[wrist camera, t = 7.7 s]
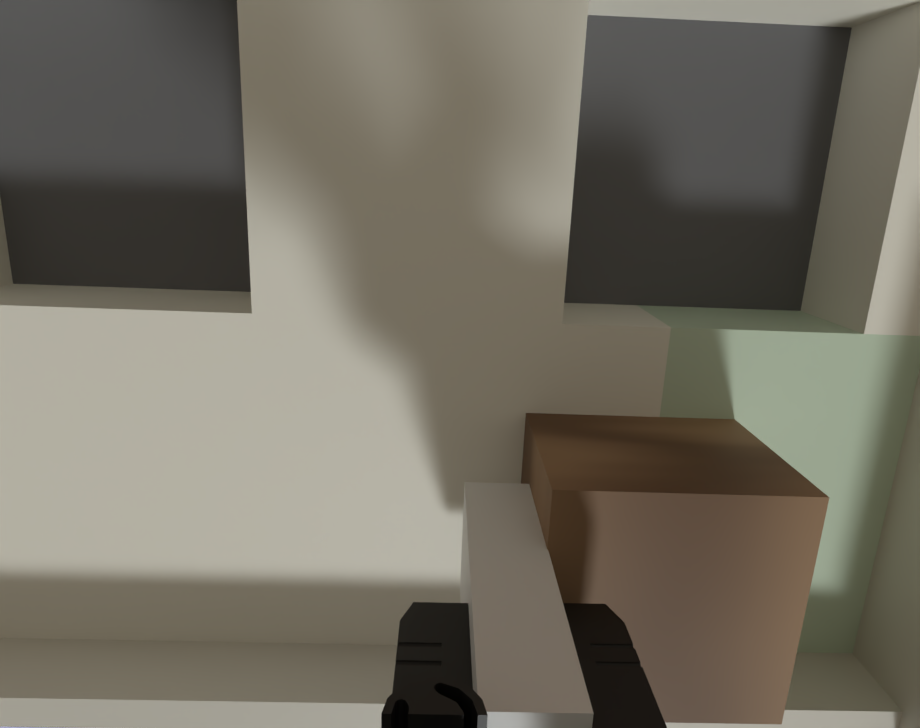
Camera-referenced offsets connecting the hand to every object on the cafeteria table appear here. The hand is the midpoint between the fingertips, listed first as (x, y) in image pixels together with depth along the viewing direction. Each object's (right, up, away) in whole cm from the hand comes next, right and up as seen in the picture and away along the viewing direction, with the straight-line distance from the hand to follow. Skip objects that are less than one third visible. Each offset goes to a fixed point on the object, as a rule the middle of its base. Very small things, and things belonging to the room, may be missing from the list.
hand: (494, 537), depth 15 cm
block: (+3, 0, +1) cm, 3 cm away
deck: (-2, +5, +3) cm, 6 cm away
